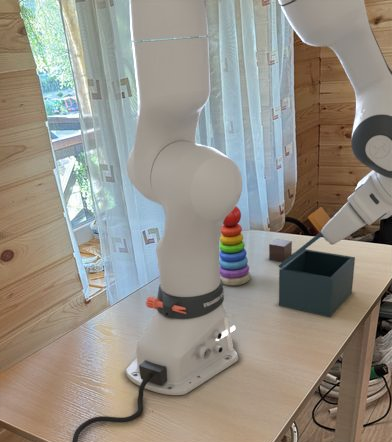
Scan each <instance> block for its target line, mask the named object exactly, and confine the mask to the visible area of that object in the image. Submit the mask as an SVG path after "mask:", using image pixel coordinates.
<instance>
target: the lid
mask: <svg viewBox="0 0 392 442" xmlns="http://www.w3.org/2000/svg"><path fill="white" fill-rule="evenodd" d="M331 218H332V217H331V216H329V214H328V213H327V212H326V210H325V209H324V208H323V207H322V206H320V207H319V208H318V209H315V211H313V212H311V214H310V215H308V216H307V219H308V220H309V221H310V223H311V224H312V225H313V226H314V228H315V229H316V230H317V232H318V233H317V234H316V235H315V236H314V237H312V238H311V239H309V241H307V242H305V243H304V244H303V245H302V246H301V247H299V249H297V250H295V251H294V252H293V253H292V255H291V256H290V257H288V258H287V259H286V260H285V261H283V262H280V263H279V264H278V265H277V266H278V268H279V269H280V268H282V267H283V266H284V265H286V264H287V263H288V262H289V261H291V260H292V259H293V258H295V257H296V256H297V255H298V254H300V253H301V252H302V251H303V250H305V249H307V248H310V246H311V245H312V244H314V243H316V241H318V240H319V239H320V238H322V237H323V235H322V233H321V230H322V229H323V227H324V226H325V225H326V224H327V223H328V222H329V221H330V220H331Z"/></svg>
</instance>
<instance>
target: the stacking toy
mask: <svg viewBox="0 0 392 442" xmlns="http://www.w3.org/2000/svg"><path fill="white" fill-rule="evenodd" d="M241 219H242V213H241V210H240V208H239V207H238V206H237V205H236V207H235V208H234V209H233V210H232V212H231V213H229V214H228V215H227V216H226V217H225V219H224V222H223V225H222V229H221V233H220V240H219V265H220V279H221V280H222V282H223V285H226V286H241V285H243V284H245V283H247V282H248V281H250V279H251V272H250V265H249V264H248V262H249V258H248V257H247V250H246V248H245V247H246V245H245V242H244V235H243V233H242V231H243V227H242V225H240V224H239V223H240V221H241Z"/></svg>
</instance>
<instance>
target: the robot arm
mask: <svg viewBox="0 0 392 442" xmlns="http://www.w3.org/2000/svg"><path fill="white" fill-rule="evenodd" d="M277 1H278V4H279V5H280V8H281V10H282V12H283V15H285V18H286V19H287V21H288V23H289V25H290V26H291V28H292V29H293V31H294V32H295V33H296V35H297V36H298V37H299V39H300V40H301V41H302V43H304V44H306V45H309V46H312V47H318V48H322V47H327V48H329V49H330V50H332V51H333V52H334V53H335V55H336V57H337V58H338V60H339V62H340V64H341V66H342V68H343V70H344V72H345V74H346V76H347V78H348V80H349V82H350V84H351V86H352V88H353V90H354V93H355V110H354V111H355V115H354V120H353V125H352V132H351V139H350V144H351V145H350V146H351V151H352V153H353V155H354V157H355V158H356V160H358V162H360V163H361V164H363V165H364V166H365V167H367V168H369V169H370V170H371V171H370V172H368V173H367V174H366V175H365V176H364V177H363V178H361V179H360V180H359V181H358V183H357V184H356V187H355V189H354V191H352V193H351V194H350V195H349V196H348V197H347V202H346V203H345V204H344V205H343V206H342V207H341V208H340V209H338V211H337V212H336V213H335V214H334V215H333V216H332V217H330V218H331V220H330V221H329V222H328V223H327V224H326V225H325V226H324V227H323V229H322V230H321V233H322V235H323V236H322V237H323V239H324V240H325V241H326V242H328V244H329V245H336V244H337V243H339V242H341V241H343V240H344V239H345V238H346V239H347V237H349V236H351V235H352V234H354V233H355V232H356V231H359V230H361V228H363V227H365V226H366V225H367V226H371V225H373V224H374V223H376V222H378V221H381V220H385V219H388V218H390V217H391V216H392V69H391V68H390V66H389V65H388V62H387V61H386V58H385V56H384V54H383V51H382V49H381V48H380V45H379V43H378V41H377V39H376V35H375V34H374V32H373V30H372V27H371V25H370V22H369V17H368V14H367V13H368V12H367V9H366V2H365V0H277ZM207 9H208V0H129V22H130V23H129V25H130V37H131V45H132V46H131V47H132V56H133V65H134V74H135V75H134V76H135V85H136V95H137V97H136V98H137V113H136V126H135V135H134V143H133V147H132V149H131V150H130V152H129V154H128V157H127V160H126V161H127V162H126V171H127V176H128V178H129V181H130V183H131V184H132V186H133V187H134V188H135V189H136V190H137V191H138V192H139V193H140V194H141V195H142V196H143V198H145V199H146V200H149V201H151V202H153V203H156V204H158V205H160V206H161V207H162V208H163V211H164V215H165V216H164V229H163V234H162V237H161V238H160V239H159V240H158V242H157V243H156V247H155V251H156V253H155V254H156V262H157V269H158V276H159V286H158V290H157V297H156V298H155V297H153V296H148V297H147V298H146V301H145V305H146V307H147V308H149V309H153V310H155V312H154V314H153V316H152V317H151V319H150V321H149V322H148V324H147V326H146V327H145V329H144V330H143V333H142V334H141V336H140V338H139V339H138V341H137V344H136V358H134V360H133V361H132V362H131V363H130V364H129V365H128V366H127V368H125V375H126V377H127V378H128V379H129V381H131V382H132V383H134V384H135V385H137V386H139V387H138V395H137V410H136V412H135V413H133V414H131V415H128V416H125V417H124V416H123V417H121V416H120V417H117V416H106V415H105V416H104V415H103V416H101V415H100V416H95V417H92V418H89V419H87V420H86V421H84V422H83V423H81V424H80V425H79V426H78V427H77V428H76V430H75V431H74V434H73V437H72V440H71V442H79V437H80V435H81V433H82V432H83V431H84V429H86V428H87V427H89V426H90V425H92V424H94V423H99V422H110V423H128V422H131V421H134V420H136V419H137V418H139V417H140V416H141V415H142V413H143V410H144V405H143V404H144V403H143V402H144V401H143V399H144V390H148V391H151V392H154V393H158V394H161V395H166V396H167V395H169V396H184V395H187V394H189V392H192V391H193V390H195V389H196V388H198V387H199V386H200V385H202V384H204V383H205V382H207V381H209V380H210V379H212V378H213V377H215V376H216V375H217V374H220V373H221V372H223V371H224V370H225V369H227V368H229V367H230V366H232V365H234V364H235V363H236V362H238V361H239V355H238V352H237V351H236V349H235V348H234V344H233V338H232V332H233V331H235V330H236V326H235V325H232V326H231V324H230V320H229V317H228V315H227V312H226V310H225V307H224V304H223V303H224V301H225V295H224V293H225V288H224V284H223V282H222V280H221V279H220V264H219V260H220V237H221V234H222V233H221V229H222V226H223V222H224V219H225V217H226V216H227V215H228V214H229V213H231V212H232V210H233V209H234V208H235V207H236V206H237V205H238V203H239V202H240V199H241V195H242V191H243V178H242V177H243V176H242V173H241V170H240V168H239V166H238V165H237V163H235V161H233V159H231V158H230V157H229V156H227V155H225V154H224V153H223V152H221V151H220V150H218V149H216V148H214V147H212V146H208V145H204V144H200V143H197V130H198V123H199V120H200V116H201V112H202V110H203V108H204V107H205V105H206V104H207V103H208V101H209V99H210V97H211V74H210V73H211V71H210V70H211V69H210V46H209V27H208V16H207V15H208V14H207Z"/></svg>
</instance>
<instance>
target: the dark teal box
mask: <svg viewBox="0 0 392 442" xmlns="http://www.w3.org/2000/svg"><path fill="white" fill-rule="evenodd" d="M355 262H356V257H355V256H351V255H350V256H349V255H343V254H339V253H338V254H337V253H331V252H325V251H319V250H312V249H307V248H306V249H305V250H303V251H302V252H301V253H300V254H298V255H297V256H296V257H295V258H293V259H292V260H291V261H289V262H288V263H287V264H286V265H284V266H283V267H282V268H280V267H279V268H278V276H279V277H278V307H279V306H280V307H284V308H288V309H293V310H296V311H302V312H305V313H310V314H313V315H319V316H323V317H327V318H331V317H332V316H333V315H334V313H335V312H336V311H337V310H339V308H340V307H341V306H342V305H343V304H344V303H345V301H346V300H347V299H348V298H349V297H350V296H351V295H352V293H353V285H354V284H353V283H354V273H355Z"/></svg>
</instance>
